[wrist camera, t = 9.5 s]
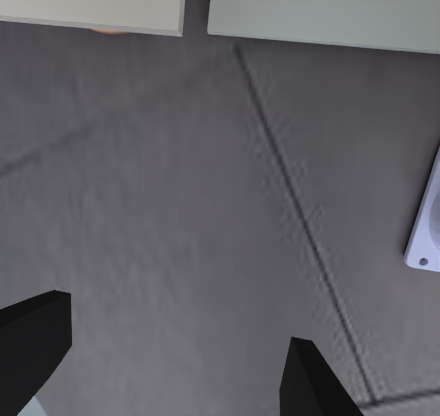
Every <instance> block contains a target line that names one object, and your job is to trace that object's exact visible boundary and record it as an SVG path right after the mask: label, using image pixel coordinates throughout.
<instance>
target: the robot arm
mask: <svg viewBox="0 0 440 416" xmlns="http://www.w3.org/2000/svg"><path fill="white" fill-rule="evenodd" d="M422 258H424V261H423V262H422V263H419V261H420V259H422ZM404 262H405V263H406V264H407V265H408V266H410V267H413V268H419V269H425V270H431V271H437V272H440V147H439V150H438V153H437V156H436V159H435V162H434V165H433V168H432V171H431V175H430V178H429V181H428V184H427V187H426V190H425V193H424V196H423V199H422V202H421V205H420V208H419V212H418V215H417V218H416V221H415V224H414V227H413V230H412V233H411V236H410V239H409V242H408V245H407V248H406V252H405V255H404ZM71 346H72V324H71V293H66V292H61V291H56V290H53V291H49V292H46V293H43V294H40V295H37V296H35V297H32V298H29V299H27V300H24V301H21V302H19V303H16V304H13V305H11V306H8V307H6V308H3V309H1V310H0V416H17V415H18V413H19V412H20V411H21V410H22V409H23V408H24V406H26V404H27V403H28V402H29V401H30V400H31V399H32V397H33V396H34V395H35V394H36V393H37V392H38V390H39V389H40V388H41V387H42V386H43V385H44V383H45V382H46V381H47V380H48V379H49V377H50V376H51V375H52V373H53V372H54V371H55V369H56V368H57V366H58V365H59V364H60V362H61V361H62V359H63V358H64V356H65V355H66V353H67V352H68V350H69V349H70V347H71ZM279 391H280V416H364V415H363V414H362V413H361V411H360V410H359V408H358V407H357V406H356V404H355V403H354V401H353V400H352V399H351V397H350V396H349V394H348V393H347V392H346V390H345V389H344V387H343V386H342V384H341V383H340V381H339V380H338V378H337V377H336V375H335V374H334V373H333V371H332V370H331V368H330V367H329V365H328V364H327V362H326V361H325V359H324V358H323V356H322V355H321V353H320V352H319V350H318V349H317V347H316V346H315V344H314V343H313V341H311V340H306V339H301V338H295V337H291V341H290V346H289V350H288V355H287V359H286V364H285V368H284V372H283V377H282V381H281V386H280V390H279Z"/></svg>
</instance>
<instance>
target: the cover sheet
mask: <svg viewBox="0 0 440 416" xmlns="http://www.w3.org/2000/svg"><path fill="white" fill-rule="evenodd" d="M184 7H185V0H0V21H11V22H22V23H34V24H45V25H56V26H67V27H78V28H90V29H101V30H112V31H123V32H135V33H146V34H157V35H168V36H180V37H182V33H183V20H184Z"/></svg>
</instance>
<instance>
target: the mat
mask: <svg viewBox="0 0 440 416" xmlns="http://www.w3.org/2000/svg"><path fill="white" fill-rule="evenodd" d="M207 32H208V34H214V35H225V36H237V37H248V38H260V39H271V40H283V41H294V42H306V43H317V44H329V45H340V46H352V47H364V48H375V49H387V50H398V51H410V52H421V53H433V54H440V0H210V8H209V19H208V29H207Z"/></svg>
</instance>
